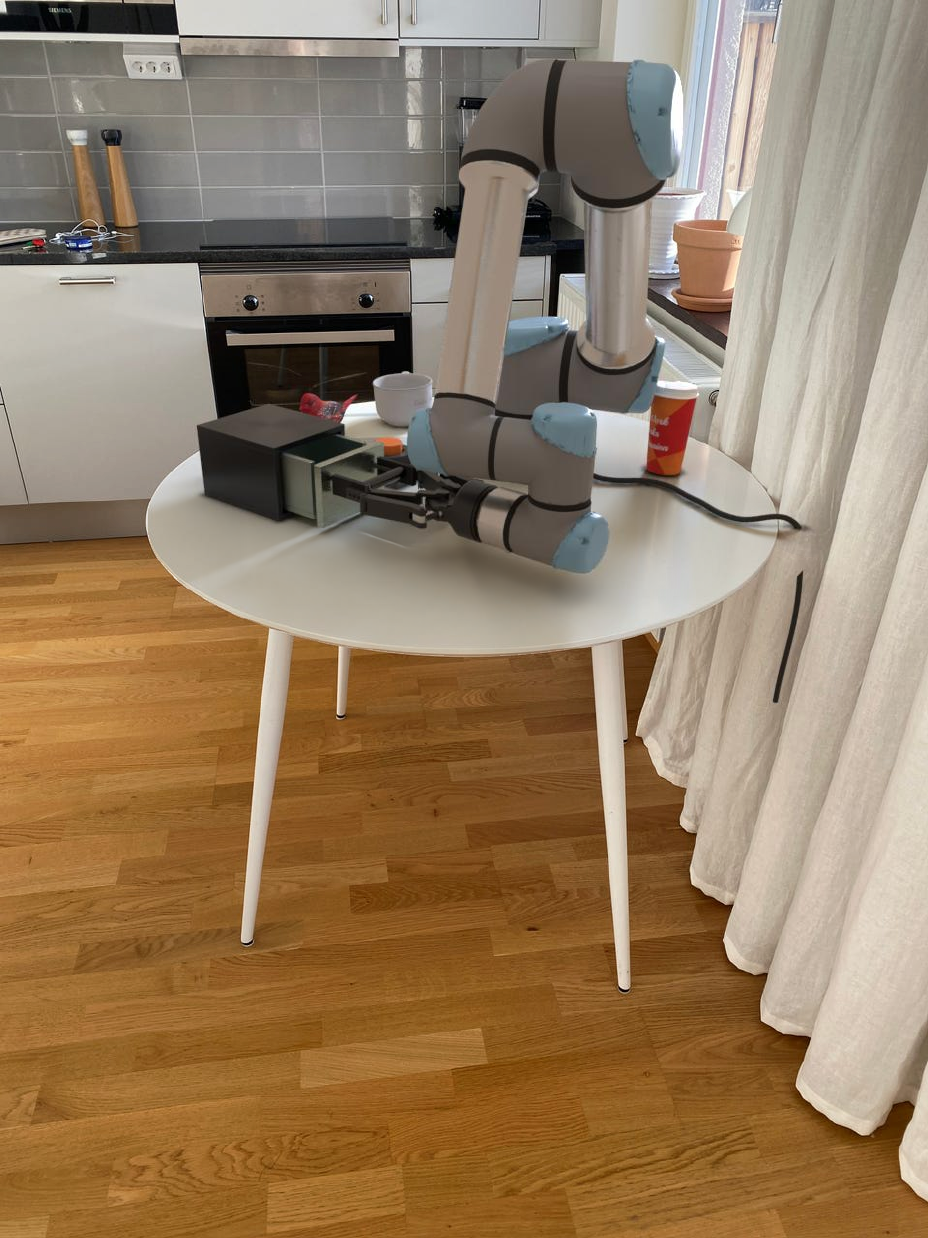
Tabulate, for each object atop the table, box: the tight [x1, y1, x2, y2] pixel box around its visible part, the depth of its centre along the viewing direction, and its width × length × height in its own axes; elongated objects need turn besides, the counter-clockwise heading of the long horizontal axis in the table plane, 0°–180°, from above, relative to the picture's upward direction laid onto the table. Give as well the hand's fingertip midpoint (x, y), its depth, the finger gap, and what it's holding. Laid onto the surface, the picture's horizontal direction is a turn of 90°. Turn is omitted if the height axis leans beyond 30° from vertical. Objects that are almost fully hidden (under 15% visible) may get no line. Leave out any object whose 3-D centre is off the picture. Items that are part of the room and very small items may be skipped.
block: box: [384, 443, 418, 490], centre depth 149 cm, size 11×9×4 cm
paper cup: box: [646, 380, 700, 476], centre depth 152 cm, size 8×8×14 cm
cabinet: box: [196, 403, 346, 522], centre depth 139 cm, size 16×14×11 cm
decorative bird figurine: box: [299, 392, 358, 423], centre depth 161 cm, size 3×18×10 cm, turn 154°
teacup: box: [372, 371, 433, 428], centre depth 174 cm, size 14×11×8 cm
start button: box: [374, 436, 403, 455], centre depth 148 cm, size 4×4×2 cm
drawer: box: [279, 433, 407, 529], centre depth 133 cm, size 21×13×9 cm, turn 54°
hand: (357, 474), depth 130 cm, fingers closed on drawer, 8 cm apart
